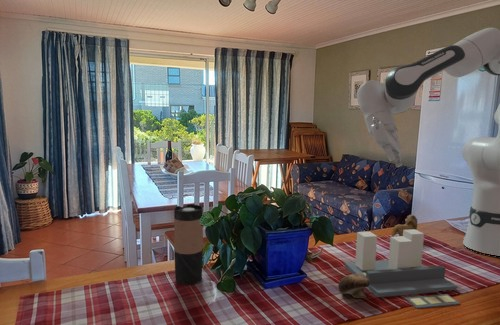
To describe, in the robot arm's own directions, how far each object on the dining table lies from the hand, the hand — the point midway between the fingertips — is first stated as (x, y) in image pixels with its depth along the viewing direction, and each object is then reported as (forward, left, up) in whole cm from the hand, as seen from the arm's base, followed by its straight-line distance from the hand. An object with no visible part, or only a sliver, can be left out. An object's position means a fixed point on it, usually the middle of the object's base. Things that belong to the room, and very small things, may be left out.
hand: (396, 163), depth 109 cm
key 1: (+14, +10, -29) cm, 34 cm away
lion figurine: (-14, -12, -31) cm, 36 cm away
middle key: (+7, +15, -29) cm, 34 cm away
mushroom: (+24, +22, -31) cm, 45 cm away
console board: (+7, +15, -31) cm, 35 cm away
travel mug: (+65, +7, -31) cm, 72 cm away
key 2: (-1, +10, -29) cm, 31 cm away
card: (+6, +28, -31) cm, 42 cm away
